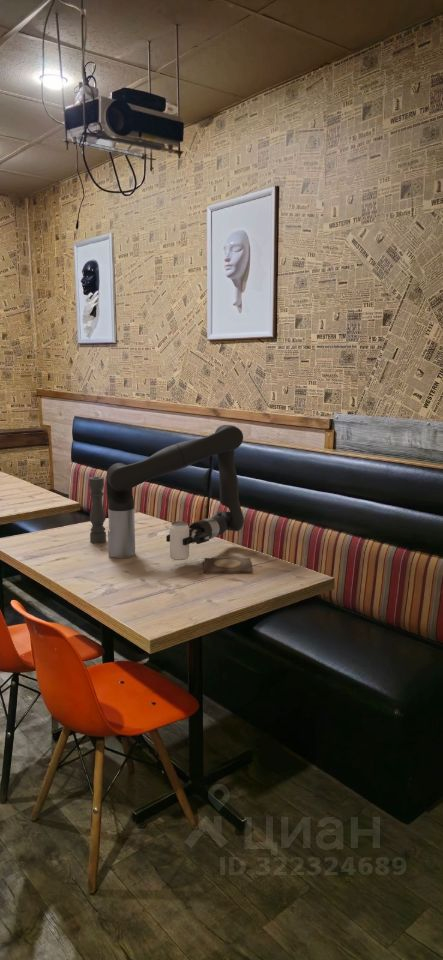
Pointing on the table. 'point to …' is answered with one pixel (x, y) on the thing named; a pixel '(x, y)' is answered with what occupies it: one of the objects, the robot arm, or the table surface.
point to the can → (179, 540)
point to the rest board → (227, 565)
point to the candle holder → (97, 510)
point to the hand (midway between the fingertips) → (175, 540)
